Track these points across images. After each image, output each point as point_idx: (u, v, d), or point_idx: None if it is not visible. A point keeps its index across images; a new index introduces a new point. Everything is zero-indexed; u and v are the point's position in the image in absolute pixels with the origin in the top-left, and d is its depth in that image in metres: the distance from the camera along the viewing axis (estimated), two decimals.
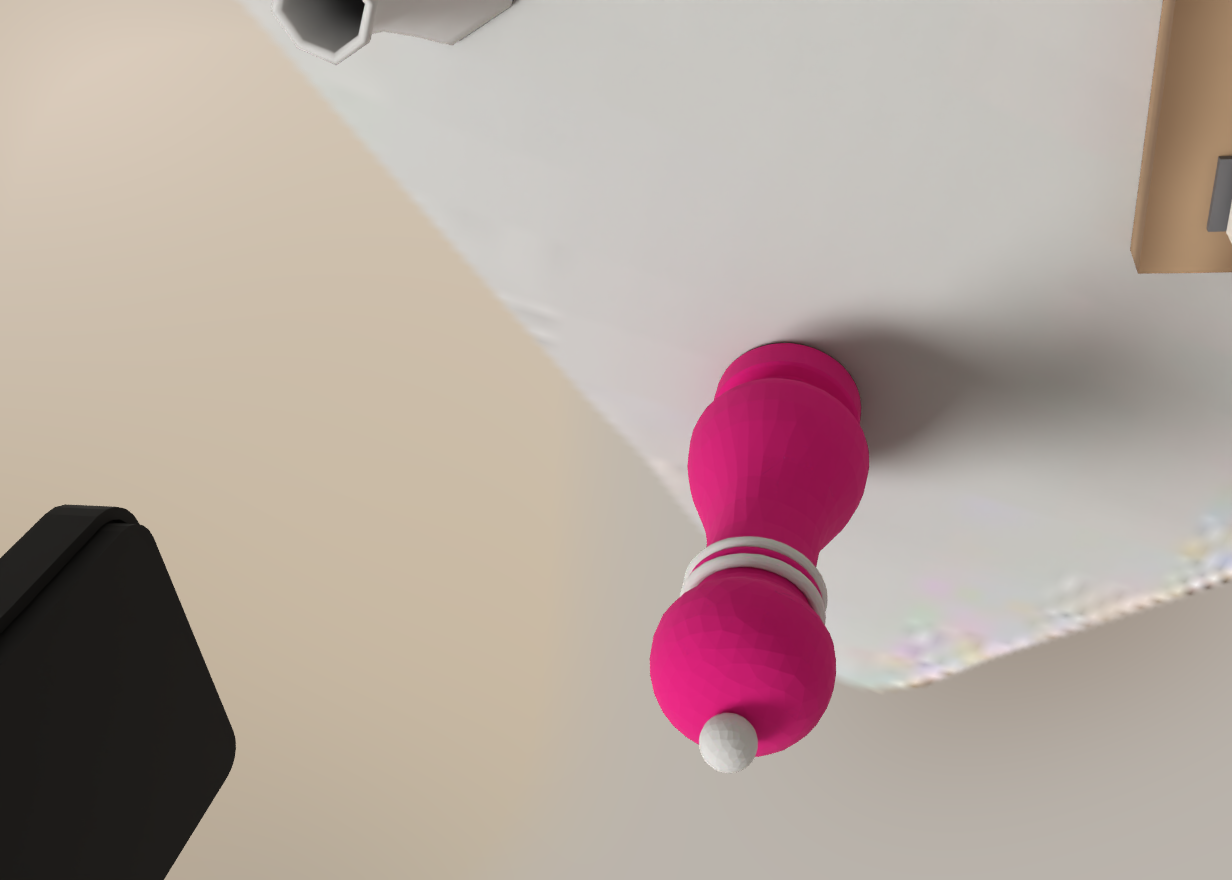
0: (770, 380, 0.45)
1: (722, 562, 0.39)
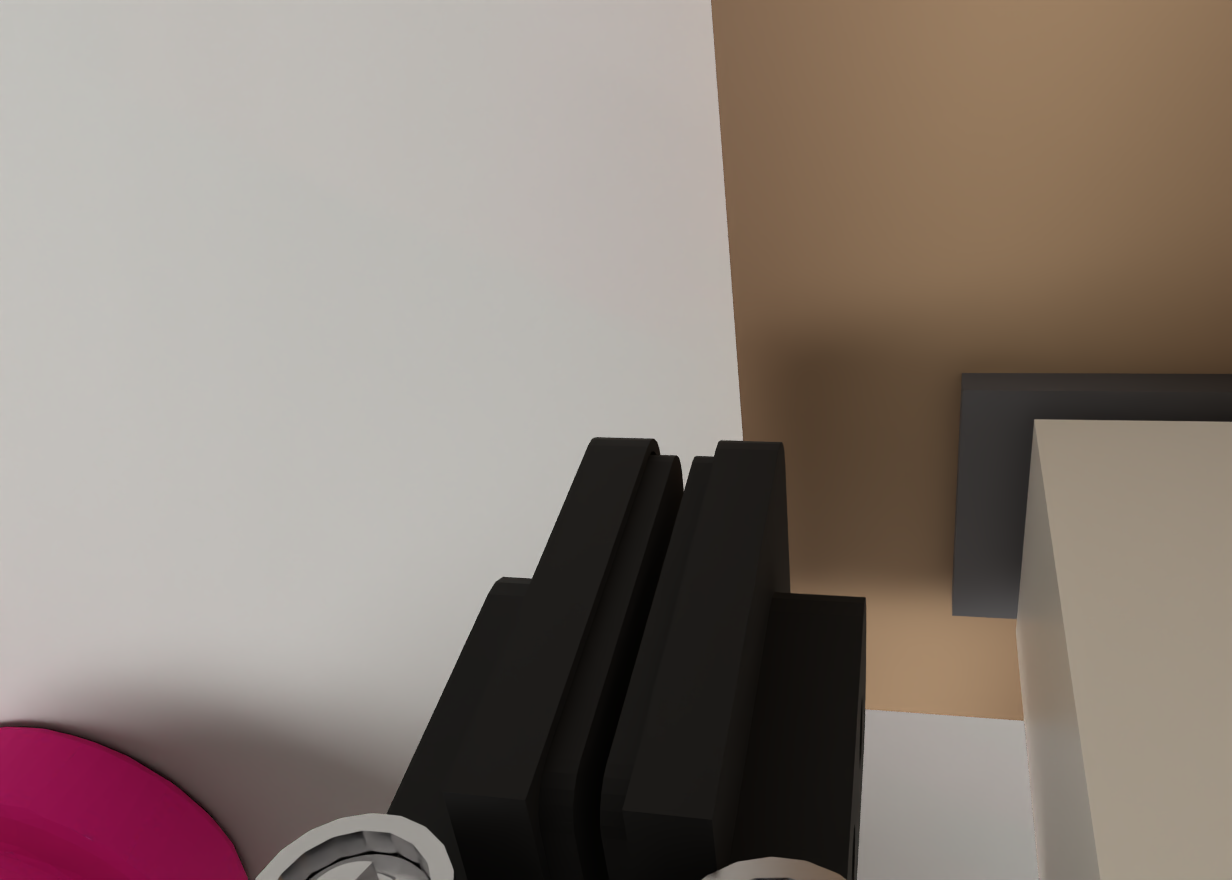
0: None
1: None
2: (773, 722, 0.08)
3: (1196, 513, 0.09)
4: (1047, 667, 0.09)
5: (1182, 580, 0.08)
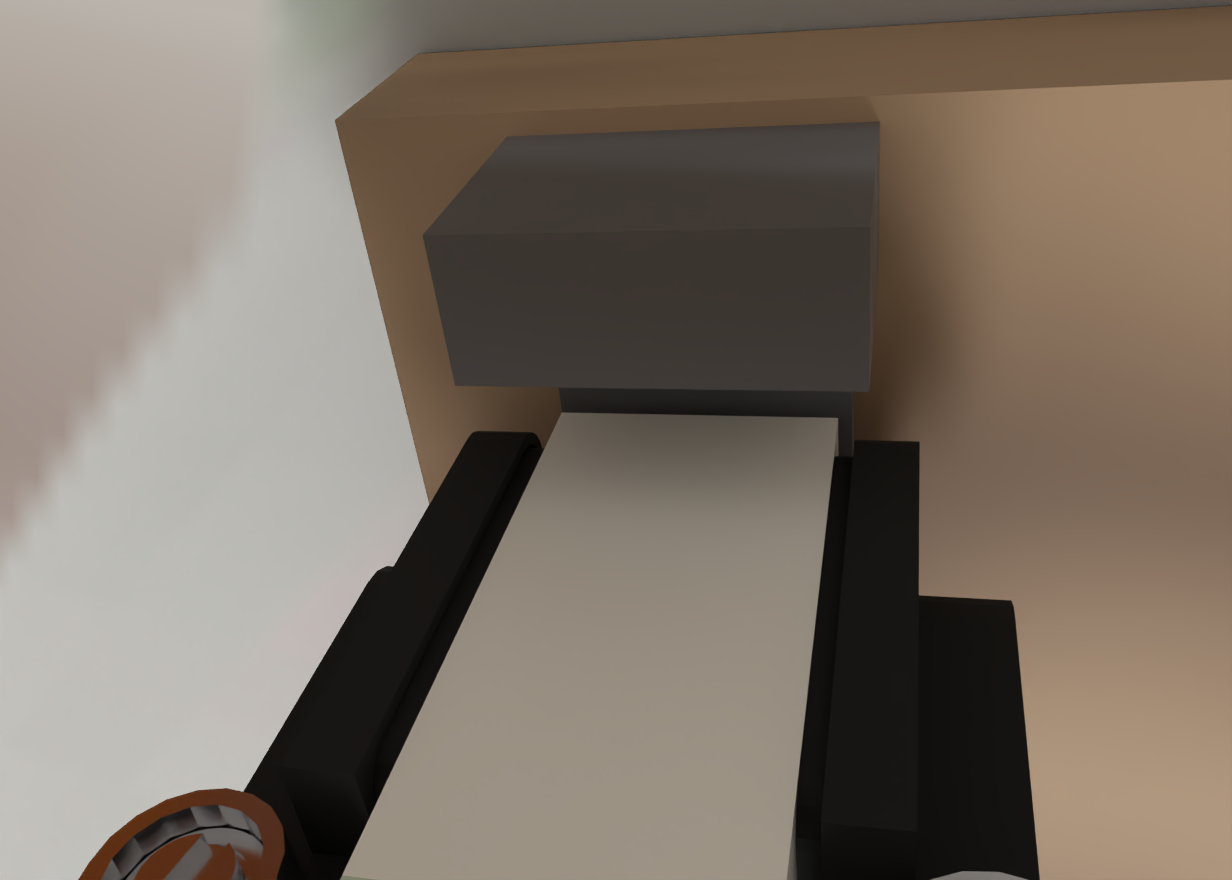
0: None
1: None
2: (938, 729, 0.08)
3: None
4: None
5: None
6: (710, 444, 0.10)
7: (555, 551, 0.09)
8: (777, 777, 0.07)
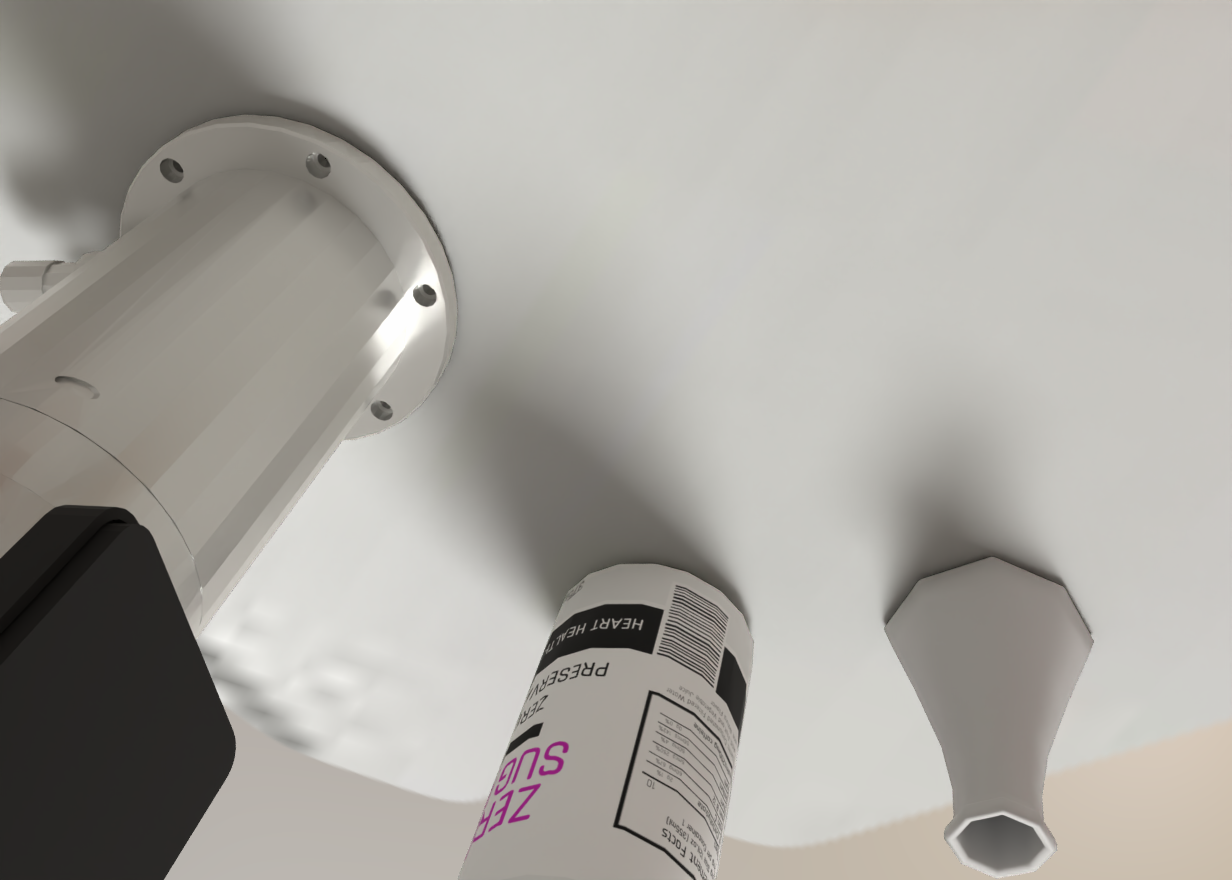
0: None
1: None
2: None
3: None
4: None
5: None
6: None
7: None
8: None
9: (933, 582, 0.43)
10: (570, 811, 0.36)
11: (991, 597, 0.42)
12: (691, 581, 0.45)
